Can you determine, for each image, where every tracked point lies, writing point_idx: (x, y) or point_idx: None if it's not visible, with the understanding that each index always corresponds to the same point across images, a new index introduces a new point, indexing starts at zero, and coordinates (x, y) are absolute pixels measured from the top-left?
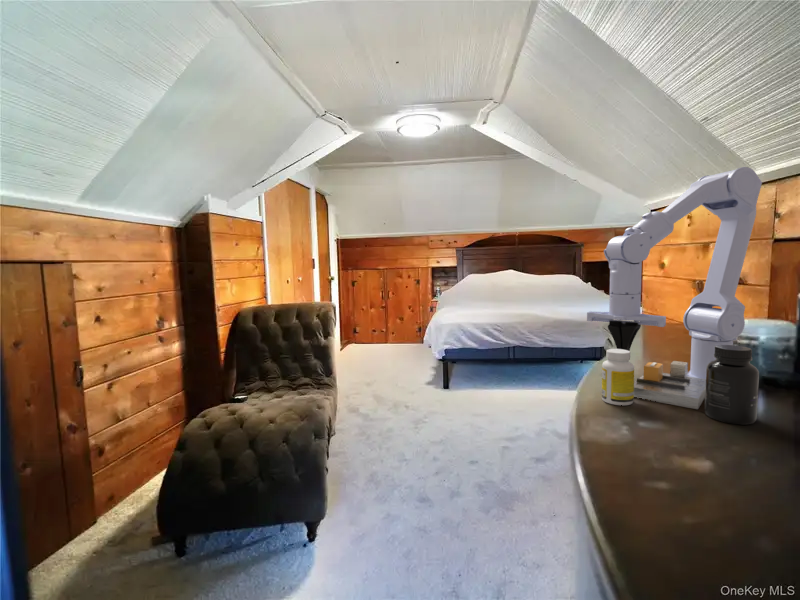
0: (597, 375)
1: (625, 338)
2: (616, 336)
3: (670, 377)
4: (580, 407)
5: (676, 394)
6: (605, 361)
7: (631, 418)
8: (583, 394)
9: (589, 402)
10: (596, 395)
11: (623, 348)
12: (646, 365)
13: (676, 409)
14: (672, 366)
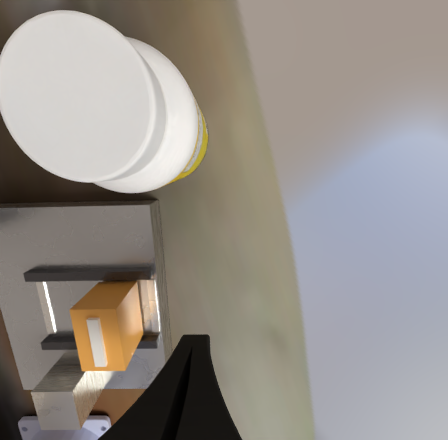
0: (288, 332)
1: (149, 412)
2: (203, 418)
3: None
4: (229, 3)
5: (25, 209)
6: (172, 92)
7: (85, 11)
8: (264, 137)
9: (225, 73)
10: (231, 153)
11: (179, 364)
12: (112, 322)
13: (36, 172)
14: (71, 384)
